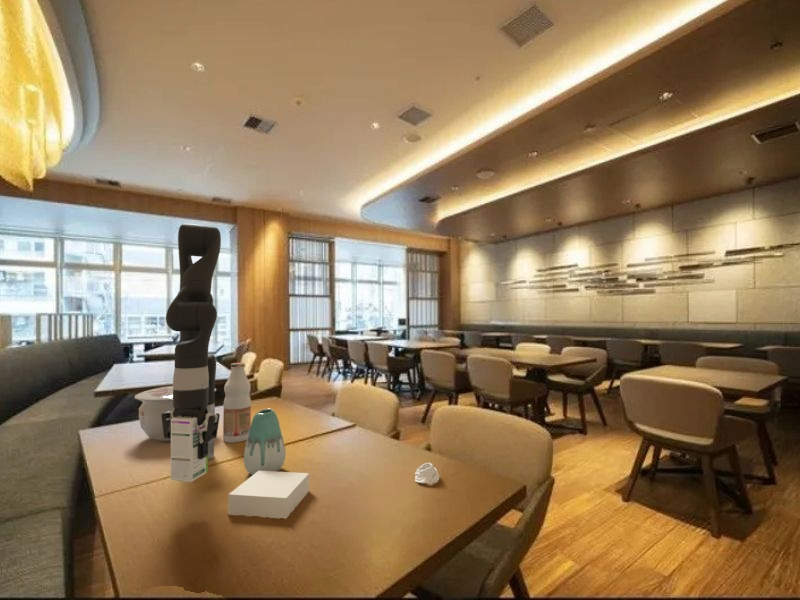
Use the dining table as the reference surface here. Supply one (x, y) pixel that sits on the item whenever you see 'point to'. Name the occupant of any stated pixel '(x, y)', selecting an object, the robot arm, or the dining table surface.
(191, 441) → the syrup box
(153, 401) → the chamber pot
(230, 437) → the fruit juice
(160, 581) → the dining table surface
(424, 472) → the whipped cream
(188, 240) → the robot arm
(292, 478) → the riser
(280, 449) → the vase
